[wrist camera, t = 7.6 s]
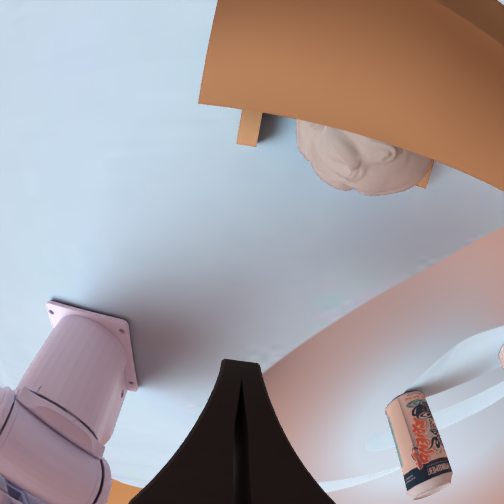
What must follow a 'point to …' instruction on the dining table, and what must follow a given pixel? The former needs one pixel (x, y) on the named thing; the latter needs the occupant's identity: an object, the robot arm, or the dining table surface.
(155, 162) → the dining table surface
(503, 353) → the pink cup
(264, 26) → the upright wooden block
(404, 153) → the pink clay lump
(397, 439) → the beer can
